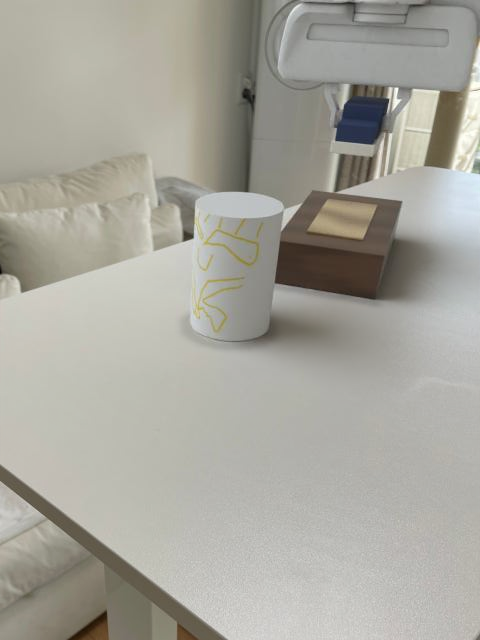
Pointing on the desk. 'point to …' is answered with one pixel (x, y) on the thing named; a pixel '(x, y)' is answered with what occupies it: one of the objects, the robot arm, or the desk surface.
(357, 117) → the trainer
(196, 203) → the yellow doodled cylinder
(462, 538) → the desk surface
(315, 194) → the brown block
